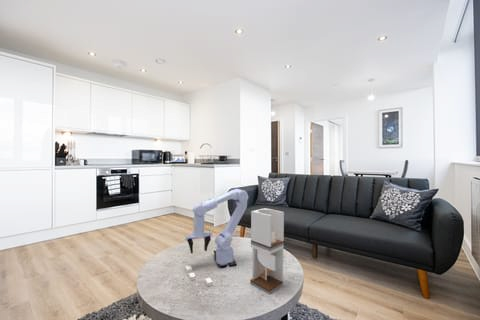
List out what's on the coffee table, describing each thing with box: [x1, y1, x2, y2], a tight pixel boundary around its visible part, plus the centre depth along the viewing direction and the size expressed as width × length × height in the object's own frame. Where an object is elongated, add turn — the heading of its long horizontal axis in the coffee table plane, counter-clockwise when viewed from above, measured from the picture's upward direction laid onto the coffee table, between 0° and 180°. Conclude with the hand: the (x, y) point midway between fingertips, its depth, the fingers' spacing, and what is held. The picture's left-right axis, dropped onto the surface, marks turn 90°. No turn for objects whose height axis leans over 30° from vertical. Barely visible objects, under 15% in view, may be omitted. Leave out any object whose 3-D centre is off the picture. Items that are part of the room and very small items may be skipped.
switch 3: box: [204, 277, 214, 288], centre depth 103 cm, size 2×4×2 cm, turn 25°
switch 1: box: [184, 265, 193, 274], centre depth 114 cm, size 2×4×2 cm, turn 25°
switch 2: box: [188, 271, 196, 282], centre depth 107 cm, size 2×4×2 cm, turn 25°
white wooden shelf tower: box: [249, 207, 285, 295], centre depth 106 cm, size 11×11×35 cm
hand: (198, 251), depth 120 cm, fingers open, 7 cm apart
